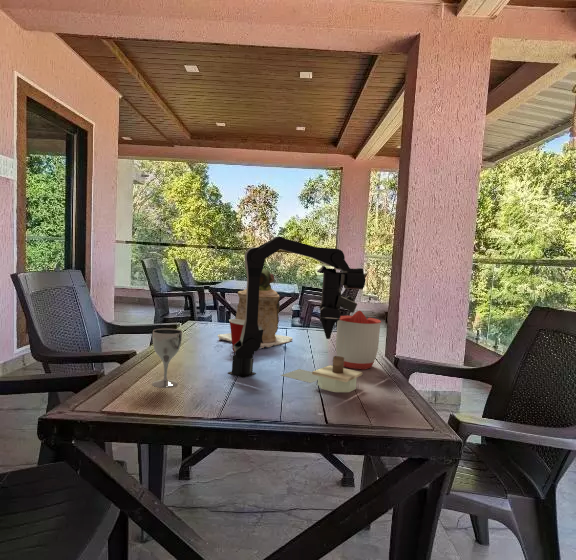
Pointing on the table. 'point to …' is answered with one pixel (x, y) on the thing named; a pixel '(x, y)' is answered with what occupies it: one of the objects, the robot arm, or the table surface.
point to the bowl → (336, 385)
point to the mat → (302, 375)
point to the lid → (337, 371)
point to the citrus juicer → (357, 340)
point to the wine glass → (166, 351)
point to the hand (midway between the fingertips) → (327, 336)
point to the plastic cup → (236, 330)
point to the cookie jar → (263, 312)
